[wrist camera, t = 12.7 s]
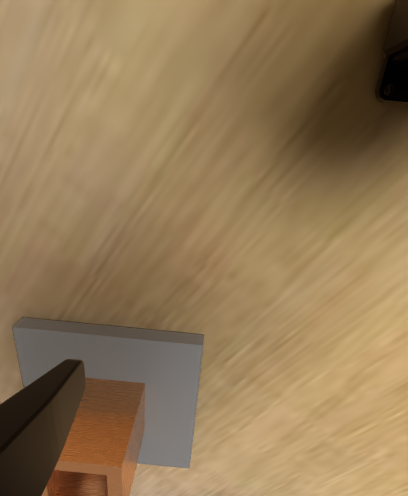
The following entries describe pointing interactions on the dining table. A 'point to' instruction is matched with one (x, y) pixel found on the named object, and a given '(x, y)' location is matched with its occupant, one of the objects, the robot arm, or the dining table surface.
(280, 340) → the dining table surface
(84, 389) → the robot arm
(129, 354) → the stand
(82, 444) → the hollow wooden cube
